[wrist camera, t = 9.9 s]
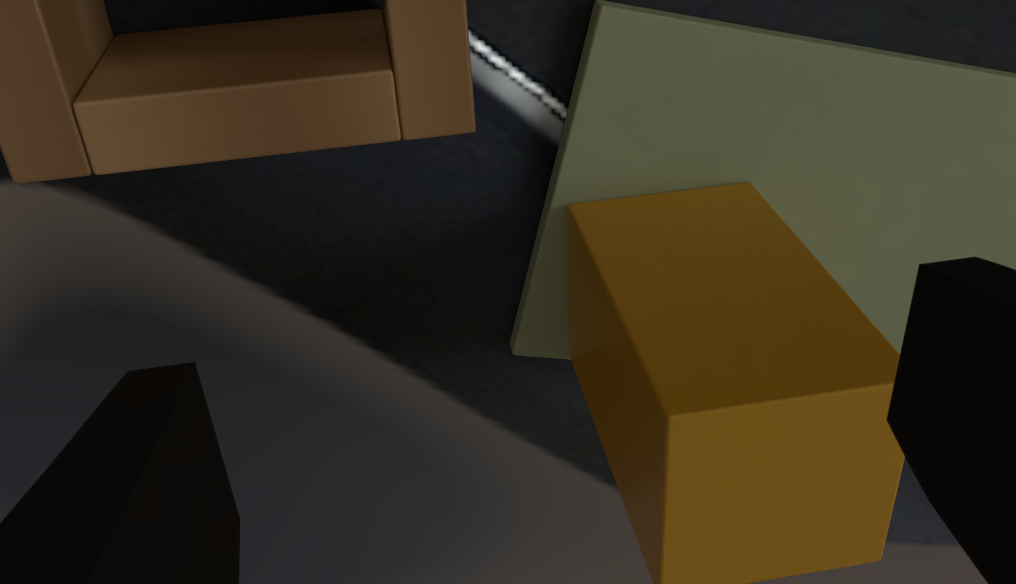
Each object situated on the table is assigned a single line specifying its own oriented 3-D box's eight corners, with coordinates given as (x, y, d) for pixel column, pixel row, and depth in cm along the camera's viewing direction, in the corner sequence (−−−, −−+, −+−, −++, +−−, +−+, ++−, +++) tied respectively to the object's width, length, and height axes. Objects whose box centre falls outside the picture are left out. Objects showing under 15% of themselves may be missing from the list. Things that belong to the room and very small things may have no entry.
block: (569, 358, 22) (658, 600, 16) (566, 203, 20) (666, 418, 14) (736, 335, 22) (882, 562, 16) (750, 180, 20) (924, 379, 14)
